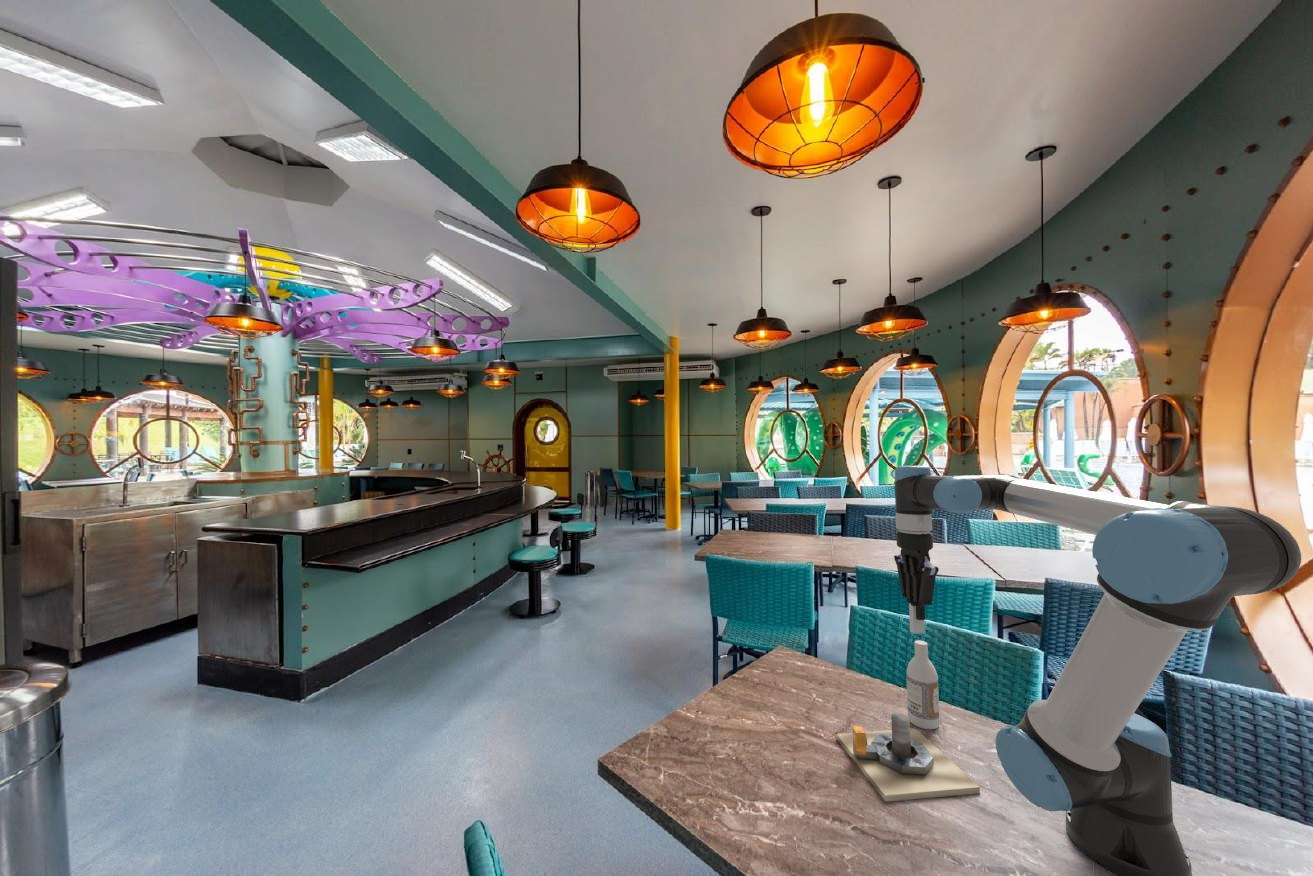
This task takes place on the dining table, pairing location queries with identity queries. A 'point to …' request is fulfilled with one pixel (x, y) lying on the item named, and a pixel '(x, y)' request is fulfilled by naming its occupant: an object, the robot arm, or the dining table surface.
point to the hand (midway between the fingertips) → (917, 632)
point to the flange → (881, 753)
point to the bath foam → (922, 689)
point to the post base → (909, 786)
